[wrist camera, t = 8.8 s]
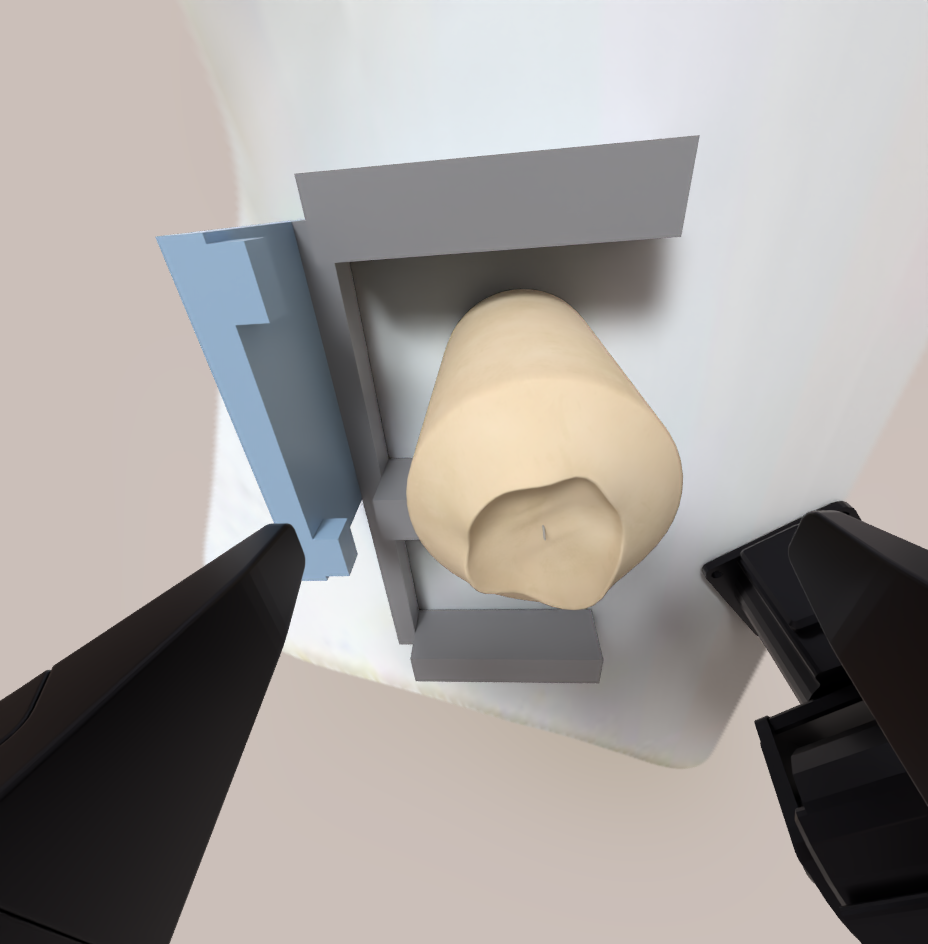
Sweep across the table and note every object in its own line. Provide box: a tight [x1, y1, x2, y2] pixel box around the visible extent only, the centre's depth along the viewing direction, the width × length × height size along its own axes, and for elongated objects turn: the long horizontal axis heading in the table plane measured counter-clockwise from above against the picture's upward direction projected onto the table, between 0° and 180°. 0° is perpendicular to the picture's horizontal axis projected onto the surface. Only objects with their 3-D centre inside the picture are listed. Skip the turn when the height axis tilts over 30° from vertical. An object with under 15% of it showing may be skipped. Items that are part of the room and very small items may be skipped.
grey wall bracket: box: [156, 135, 700, 683], centre depth 16 cm, size 22×12×6 cm, turn 4°
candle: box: [406, 289, 683, 610], centre depth 11 cm, size 6×6×10 cm
